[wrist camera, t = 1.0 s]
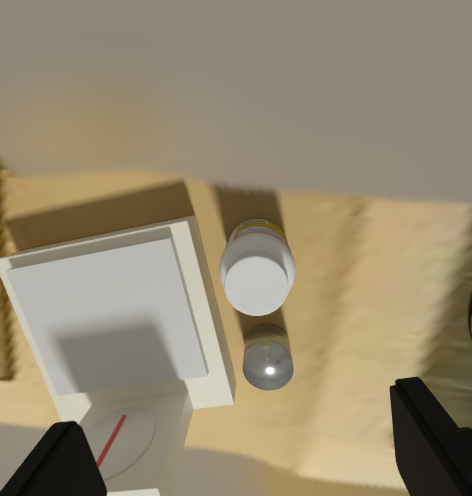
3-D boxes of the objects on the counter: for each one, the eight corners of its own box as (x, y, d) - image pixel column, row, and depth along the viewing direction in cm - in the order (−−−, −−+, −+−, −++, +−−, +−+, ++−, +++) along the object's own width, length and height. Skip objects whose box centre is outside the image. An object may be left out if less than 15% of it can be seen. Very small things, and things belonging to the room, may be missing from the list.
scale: (195, 214, 27) (147, 250, 16) (236, 382, 32) (222, 506, 20) (19, 250, 30) (-134, 304, 18) (79, 402, 34) (-13, 523, 22)
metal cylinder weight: (285, 320, 30) (288, 343, 26) (292, 359, 31) (297, 387, 27) (241, 327, 30) (238, 350, 26) (249, 365, 31) (248, 393, 27)
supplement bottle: (259, 285, 29) (259, 342, 19) (216, 248, 28) (194, 289, 19) (299, 244, 27) (320, 285, 18) (255, 205, 27) (252, 225, 18)
